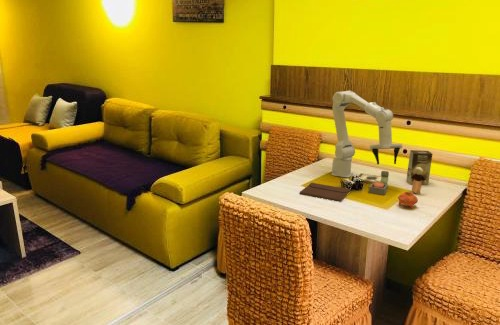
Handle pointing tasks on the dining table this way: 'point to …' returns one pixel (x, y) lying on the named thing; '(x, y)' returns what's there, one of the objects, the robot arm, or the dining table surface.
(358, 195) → the dining table surface
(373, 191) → the button housing
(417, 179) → the grandmother figurine
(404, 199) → the pot
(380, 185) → the button
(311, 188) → the notebook
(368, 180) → the brown picture frame
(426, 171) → the coffee box
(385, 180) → the marker
